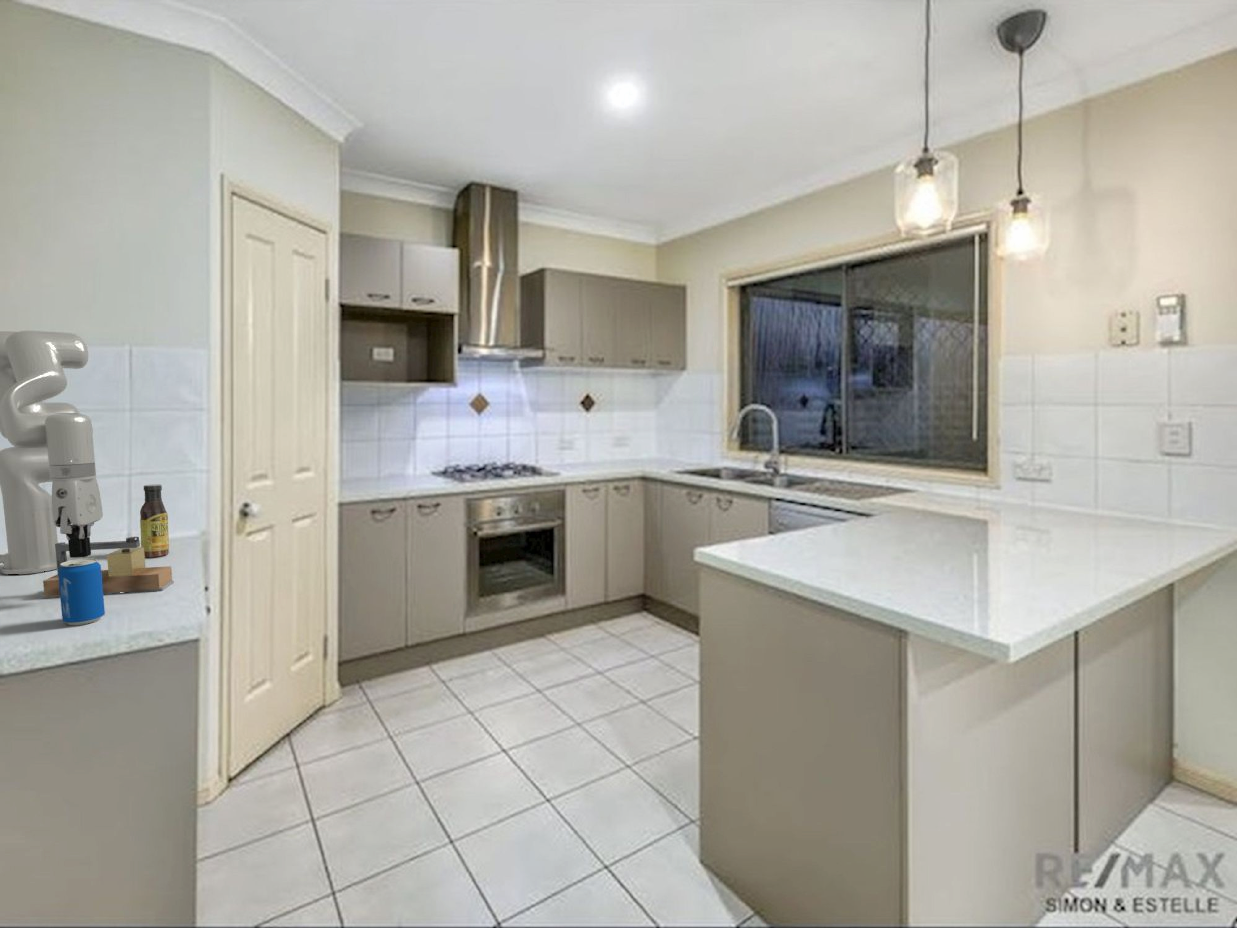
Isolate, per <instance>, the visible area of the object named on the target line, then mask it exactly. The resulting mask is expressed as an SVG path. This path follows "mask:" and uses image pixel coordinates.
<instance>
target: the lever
mask: <svg viewBox="0 0 1237 928" xmlns="http://www.w3.org/2000/svg"><path fill="white" fill-rule="evenodd" d="M90 547H91V551H98V550H101V551H102V550H119V549H121V548H139V547H141V541H140V537H139V536H129V537H125V540H116V541H115V540H114V541H99V542H98V541H97V542H96V541H95V542H93V541H92V542H91V541H90ZM55 551H56V562H57V569H56V572H57V574H58V570H59V568H60V567H61V566H60V564H61V563H63V562H67V561H68V557H67V552H69V544H68V543H66V542H65V541H64V542H62V541H61V542H58V543H56V544H55Z"/></svg>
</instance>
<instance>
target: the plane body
mask: <svg viewBox="0 0 1237 928" xmlns="http://www.w3.org/2000/svg"><path fill="white" fill-rule="evenodd" d="M101 574H102V585H103V594H104V595H112V594H111V593H119V594H121V593H120V592H135V593H145V592H144V591H150V592H162V591H164V590H166V589H167V588H169V587H170V586H171V585H173V584H174V583H175V582H174V580H173V573H172V565H170V566H169V565H168V566H153V567H145V569H143V570H141V571H139V572H138V573H136V574H134V575H130V576H113V577H109V573H108V569H101ZM42 585H43V594H44V595H43V596H42V598H43V599H54V598H60V588H59V577H58V573H57V574H55V575H53V576H51V577H49V578H46V579H44V580H42ZM166 587H167V588H166Z"/></svg>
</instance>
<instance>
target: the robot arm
mask: <svg viewBox="0 0 1237 928" xmlns="http://www.w3.org/2000/svg"><path fill="white" fill-rule="evenodd" d="M88 362H89V350H88V346H87V344H86V342H85V341H84V340H83V338H82V337H80V335H77V334H75V333H70V332H58V331H56V332H54V331H41V330H20V331H9V330H5V331H3V330H2V331H0V434H1V436H2V437H3V438H5V439H7V441H8V443H9V444H10V445H12V446H10V447H6V448H3V449H0V492H1V496H2V504H3V514H4V523H5V532H6V536H5V537H6V543H7V552H6V553H4V554H0V564H3V566H2V567H1V568H0V569H1V573H2V574H3V575H8V574H19V575H29V574H38V573H43V572H44V571H45V572H50V571H54V570H57V562H56V551H55V544H56V543H59V541H58V540H59V539H58V531H57V530H58V529H57V528H60V529H59V533H60V534H62V535H65V536H66V540H67V542H68V543H67V544H69V551H68V553H69V558H75V559H76V558H87V557H88V556H91V555H92V550H91V547H90V543H91V539H90V538H91V535H92V534H91V531H92V530H91V527H93V526H94V524H95V522H98V521H99V522H100V520H102V519H103V515H104V514H103V505H102V499H101V493H100V489H99V488H100V487H99V484H98V480H97V472H96V470H97V469H96V463H95V462H96V459H95V450H94V449H95V447H94V438H93V437H94V436H93V433H94V432H93V431H94V428H93V424H92V420H91V417H90V416H88V415H86V414H83V413H80V411H79V409H78V408H77V407H76V406H75V405H73V404H71V403H69V402H67V403H66V402H44V401H46V400H48V399H52V398H54V397H56V396H59V395H61V393H62V392H63V393H64V391H65V390H66V388H67V385H68V380H67V377H66V373H65V372H64V369H70V370H71V369H73V370H77V369H78V370H80V369H83V368H84V367H85V366H86V365H87V364H88ZM50 482H51V483H52V484H51V494H50V493H49V492H48V491H46V490H45V489H44V488H43V487H41V486H40V484H43V483H50Z"/></svg>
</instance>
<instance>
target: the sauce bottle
mask: <svg viewBox="0 0 1237 928" xmlns="http://www.w3.org/2000/svg"><path fill="white" fill-rule="evenodd" d="M162 490H163V488H162V484H159V483H158V484H145V485H143V492H144V504H143V505H141V508H140V511H139V512H140V519H139V524H140V525H139V526H140V527H139V528H140V547H144V555H145V558H150V559H151V558H159V557H164V556H166V555H168V554H169V553H170V552H169V551H170V550H169V549H170V544H169V543H170V539H169V517H168V512H167V510H166V508H165V504H164V502H163V498H162Z"/></svg>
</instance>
